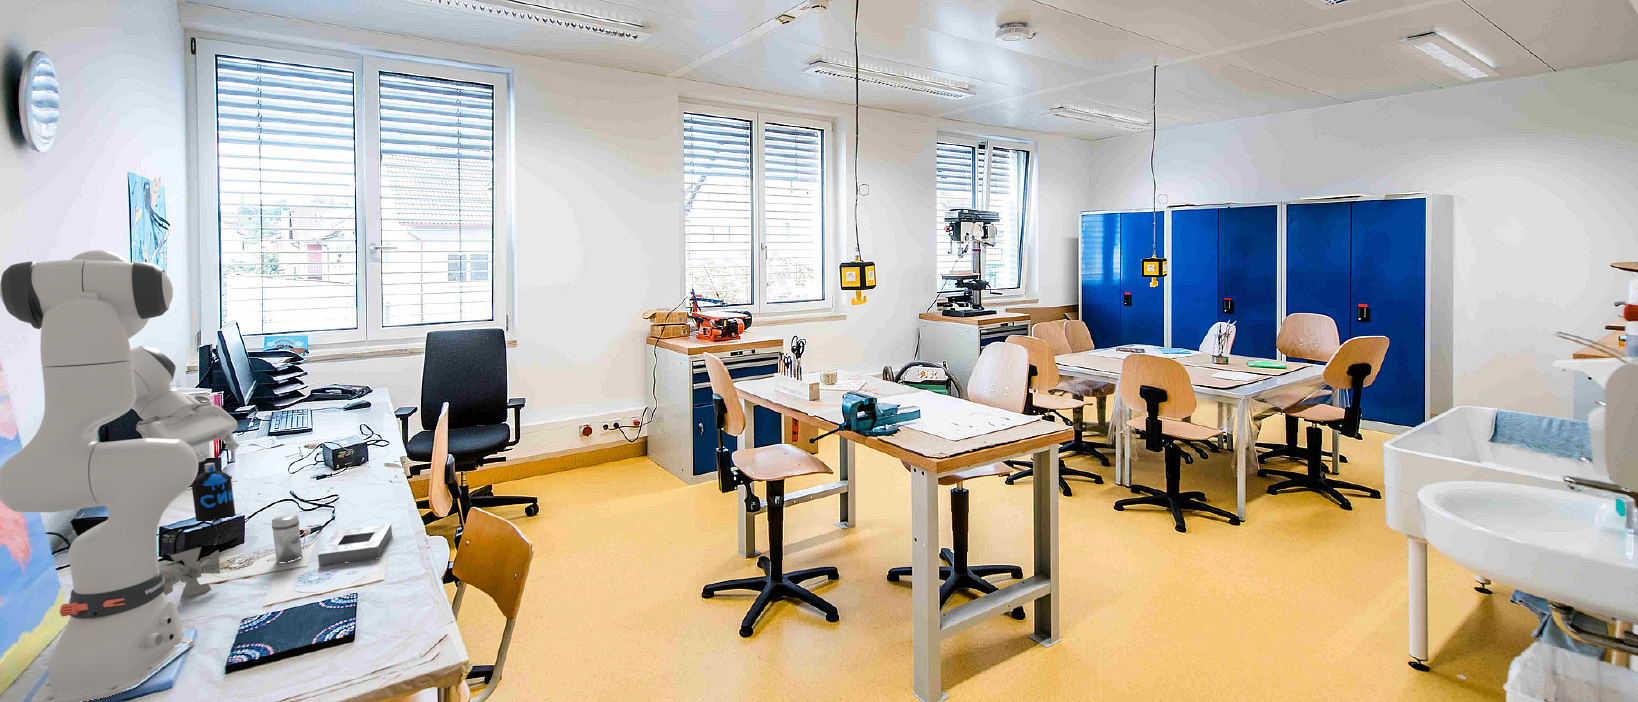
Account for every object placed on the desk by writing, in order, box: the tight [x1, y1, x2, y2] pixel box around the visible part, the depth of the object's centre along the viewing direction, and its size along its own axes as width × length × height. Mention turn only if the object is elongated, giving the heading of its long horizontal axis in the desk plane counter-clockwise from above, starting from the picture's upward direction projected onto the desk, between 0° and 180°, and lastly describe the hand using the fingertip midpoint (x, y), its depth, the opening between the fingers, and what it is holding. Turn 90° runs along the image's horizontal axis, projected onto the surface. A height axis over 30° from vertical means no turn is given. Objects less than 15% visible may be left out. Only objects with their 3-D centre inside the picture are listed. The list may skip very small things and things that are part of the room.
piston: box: [271, 514, 303, 563], centre depth 175 cm, size 5×5×10 cm
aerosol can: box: [190, 462, 236, 521], centre depth 187 cm, size 8×8×20 cm
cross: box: [162, 546, 221, 600], centre depth 156 cm, size 10×3×10 cm, turn 152°
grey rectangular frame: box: [317, 523, 393, 567], centre depth 180 cm, size 16×12×3 cm
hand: (220, 453), depth 172 cm, fingers open, 8 cm apart
